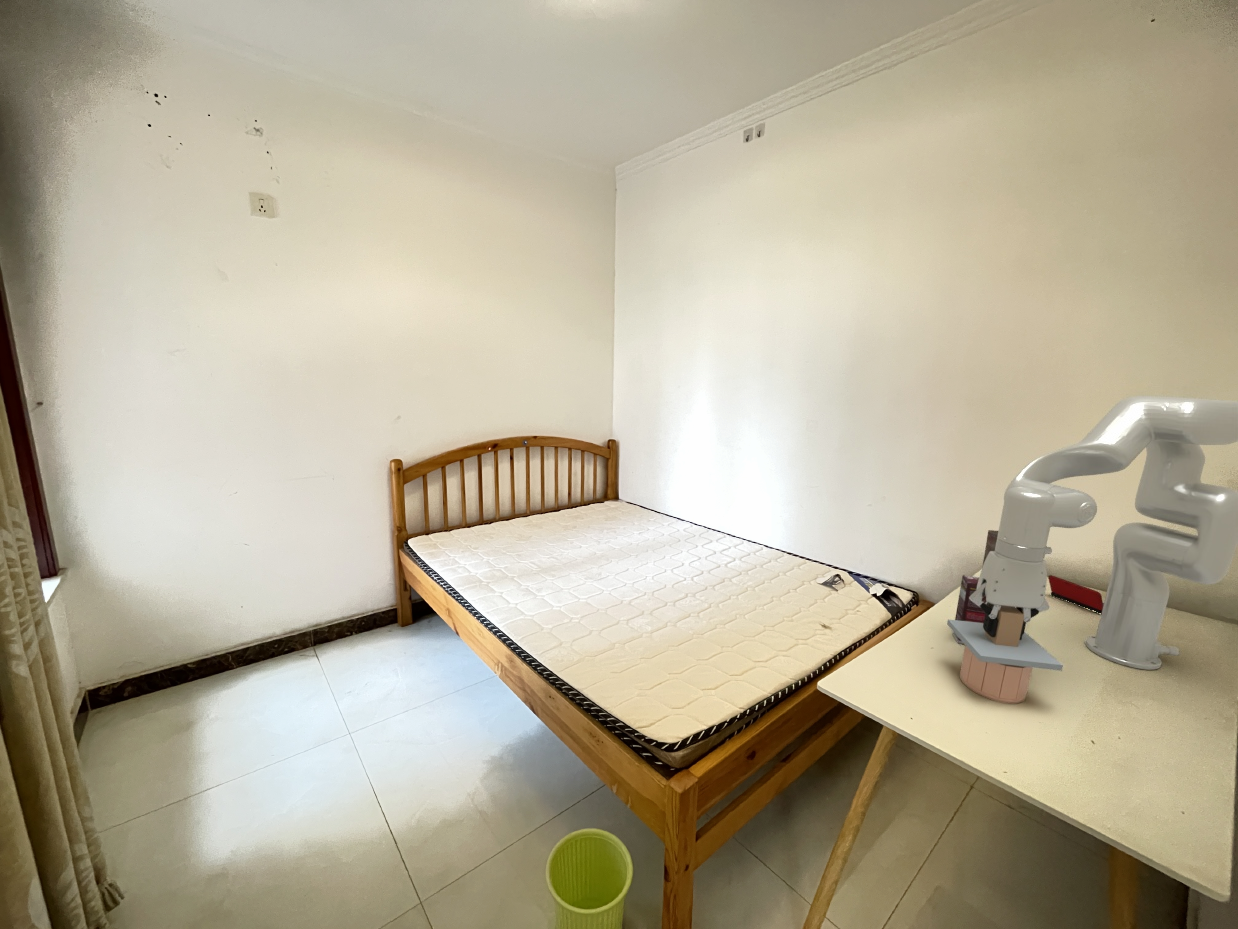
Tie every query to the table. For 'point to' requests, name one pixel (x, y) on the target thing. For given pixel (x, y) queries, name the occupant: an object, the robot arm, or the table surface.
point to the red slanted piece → (1076, 594)
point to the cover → (1004, 642)
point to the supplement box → (968, 603)
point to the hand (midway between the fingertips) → (1002, 634)
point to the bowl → (995, 679)
